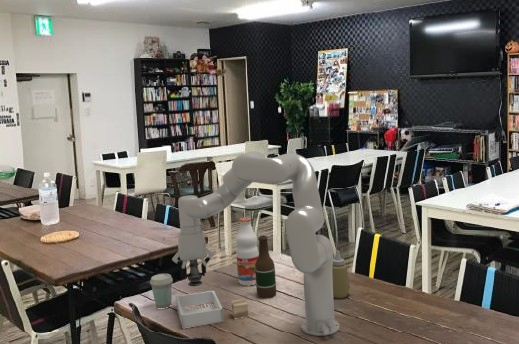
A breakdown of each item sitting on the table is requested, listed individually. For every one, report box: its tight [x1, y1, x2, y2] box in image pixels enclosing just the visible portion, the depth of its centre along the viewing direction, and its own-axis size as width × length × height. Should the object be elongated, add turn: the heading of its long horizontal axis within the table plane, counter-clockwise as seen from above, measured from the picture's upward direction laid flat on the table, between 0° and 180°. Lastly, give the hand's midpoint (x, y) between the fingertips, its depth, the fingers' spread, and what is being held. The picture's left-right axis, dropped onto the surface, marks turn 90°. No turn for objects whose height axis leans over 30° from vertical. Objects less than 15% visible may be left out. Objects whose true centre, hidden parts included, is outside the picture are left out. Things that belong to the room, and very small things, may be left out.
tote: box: [175, 289, 225, 328], centre depth 195 cm, size 20×15×5 cm
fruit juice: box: [235, 216, 259, 286], centre depth 225 cm, size 9×9×28 cm
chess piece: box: [187, 259, 203, 287], centre depth 198 cm, size 6×6×12 cm
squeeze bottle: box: [332, 249, 351, 299], centre depth 204 cm, size 8×8×18 cm
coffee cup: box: [149, 273, 174, 309], centre depth 205 cm, size 8×8×12 cm
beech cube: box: [230, 298, 249, 319], centre depth 193 cm, size 5×5×5 cm
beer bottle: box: [255, 235, 277, 300], centre depth 209 cm, size 8×8×24 cm
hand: (194, 275), depth 199 cm, fingers closed on chess piece, 5 cm apart
